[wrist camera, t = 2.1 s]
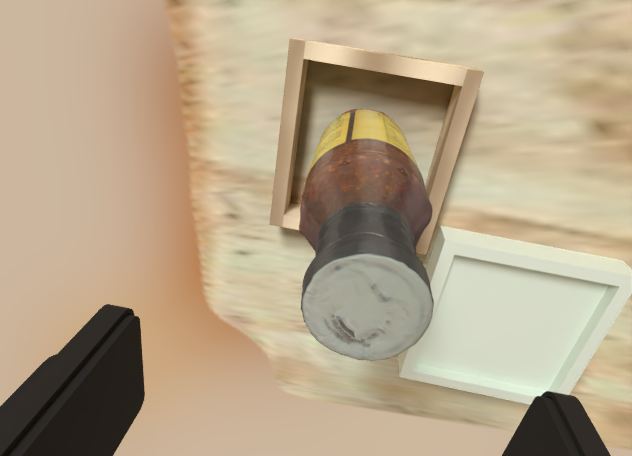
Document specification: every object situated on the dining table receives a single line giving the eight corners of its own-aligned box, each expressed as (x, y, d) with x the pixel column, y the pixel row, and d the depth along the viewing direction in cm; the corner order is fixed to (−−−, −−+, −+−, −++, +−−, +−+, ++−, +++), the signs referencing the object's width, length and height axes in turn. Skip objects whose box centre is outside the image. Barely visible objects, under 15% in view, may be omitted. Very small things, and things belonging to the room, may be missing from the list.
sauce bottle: (330, 193, 32) (274, 397, 14) (312, 114, 29) (218, 241, 12) (415, 179, 31) (470, 387, 13) (404, 95, 28) (454, 207, 10)
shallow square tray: (622, 260, 31) (640, 278, 29) (548, 388, 37) (558, 410, 35) (440, 225, 32) (445, 240, 30) (397, 356, 38) (399, 377, 36)
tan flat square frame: (475, 68, 27) (484, 71, 24) (422, 239, 33) (426, 255, 30) (296, 38, 27) (289, 38, 25) (276, 211, 33) (269, 224, 31)
